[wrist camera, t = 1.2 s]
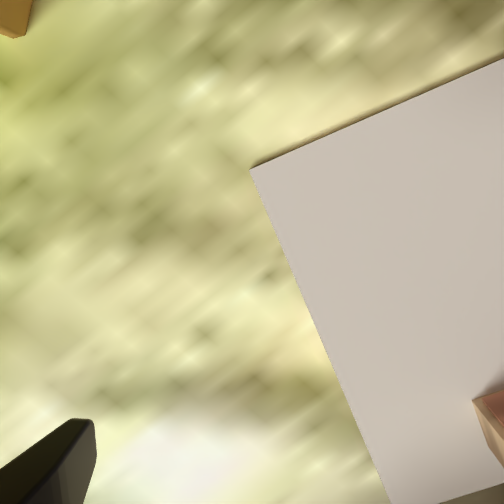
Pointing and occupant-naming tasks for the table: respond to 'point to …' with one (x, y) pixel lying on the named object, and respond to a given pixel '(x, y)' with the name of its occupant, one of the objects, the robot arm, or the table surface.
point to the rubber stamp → (14, 17)
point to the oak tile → (492, 421)
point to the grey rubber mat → (407, 276)
